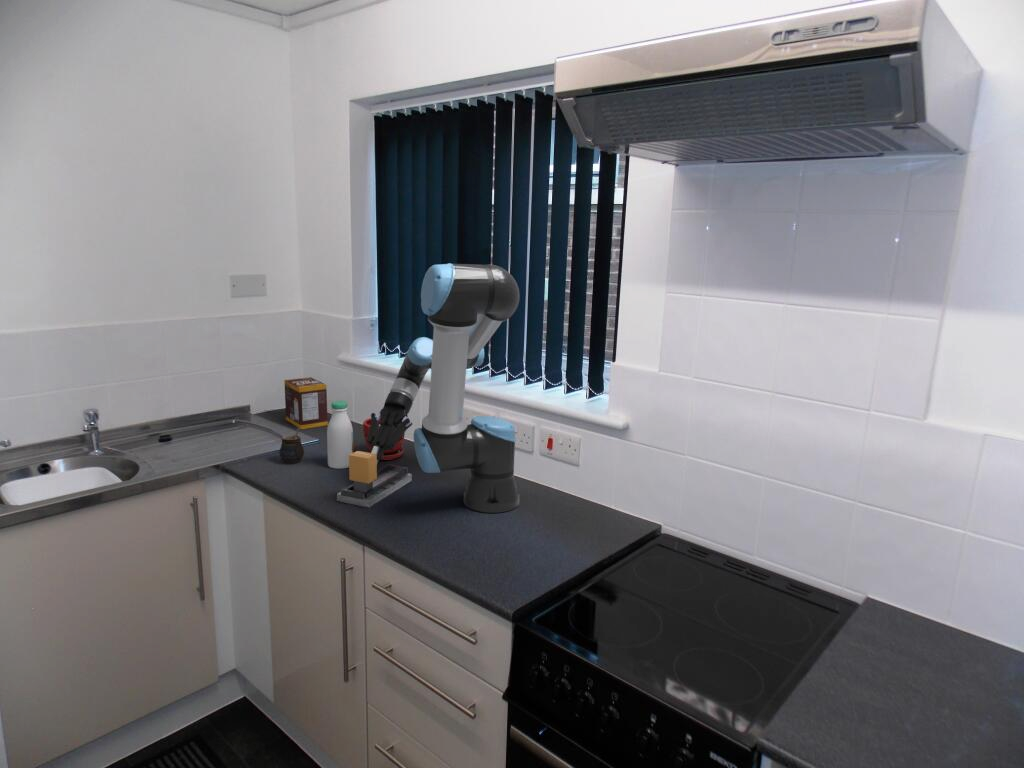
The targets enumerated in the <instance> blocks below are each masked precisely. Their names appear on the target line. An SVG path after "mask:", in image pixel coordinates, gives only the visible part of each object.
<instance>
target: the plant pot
mask: <svg viewBox="0 0 1024 768" xmlns="http://www.w3.org/2000/svg"><path fill="white" fill-rule="evenodd" d="M381 420H382V419H381V418H380V421H379V426H378V429H379V427H380V422H381ZM371 421H372V419H371V417H369V418H367V419H365V420H364V421H363V423H362V426H363V427H362V430H363V436H364V440H365V441H364V442H365V444H366V447H367V448H368V449H367V450H366V452H367V453H369V451H370V449H371V446H370V445H369V443H368V442H367V439H368V435H369V430H370V425H371ZM399 425H400V424H399ZM399 425H398V426H399ZM405 435H406V434H405V433H404V434H403V435H402V437H401V438H400V440H399V441H398V443H397V444H396V445H395V447H394V448H393V449H392V450H390V449H389V450H386V451H385V453H384V455H383V457H382V459H381V460H380V461H390V460H395V459H398V458H400V457H401V456H402V455H404V451H405V449H404V447H402V446H403V444H404V441H405ZM379 448H380V447H379Z"/></svg>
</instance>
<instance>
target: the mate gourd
mask: <svg viewBox="0 0 1024 768" xmlns="http://www.w3.org/2000/svg"><path fill="white" fill-rule="evenodd" d="M300 430H301V429H300V428H298V427H297V430H296V432H295V434H288V435H284V436H281V445H280V448H279V451H278V453H279V457H280V460H281V461H282V462H283V463H284V464H289V465H291V464H293V465H294V464H298V463H300V461H302V460H303V458H304V454H305V450H304V447H303V444H302V442H301V441H302V440H301V436H300V435H299V431H300Z"/></svg>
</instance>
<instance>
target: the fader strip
mask: <svg viewBox="0 0 1024 768" xmlns="http://www.w3.org/2000/svg"><path fill="white" fill-rule="evenodd" d="M412 480H413V473H409V467H405V466H400V465H394V464H391V463H390V464H389V463H386V465H385V466H382V467H381V468H379V469H377V479H376V480H374V481H373V488H372V489H370V490H368V491H366V492H360V491H355V490H354V482H353V483H352V484H350V485H348V486H347V487H345V488H341V489H340V492H338V493H336V501H337V502H341V503H346V504H350V505H356V506H358V507H359V506H360V507H365V508H368V509H369V508H371V507H373V505H375V504H377V503H378V502H381V501H382V500H383V499H385V498H386V497H388V496H390V495H391V494H393V493H394V492H396V491H398V490H399V489H401V488H402V487H404V486H405V485H407V484H408V483H410V482H412Z"/></svg>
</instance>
